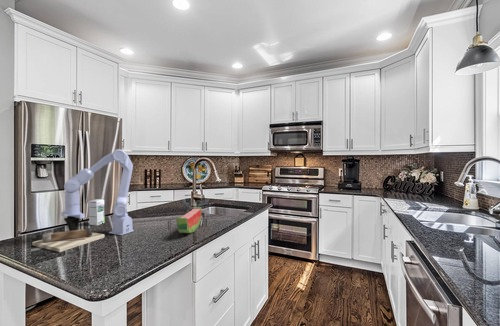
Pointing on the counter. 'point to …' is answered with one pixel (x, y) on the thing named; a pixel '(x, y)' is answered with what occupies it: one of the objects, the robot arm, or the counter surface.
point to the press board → (67, 242)
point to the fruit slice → (189, 221)
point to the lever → (67, 234)
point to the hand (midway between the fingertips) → (73, 231)
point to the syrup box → (96, 212)
